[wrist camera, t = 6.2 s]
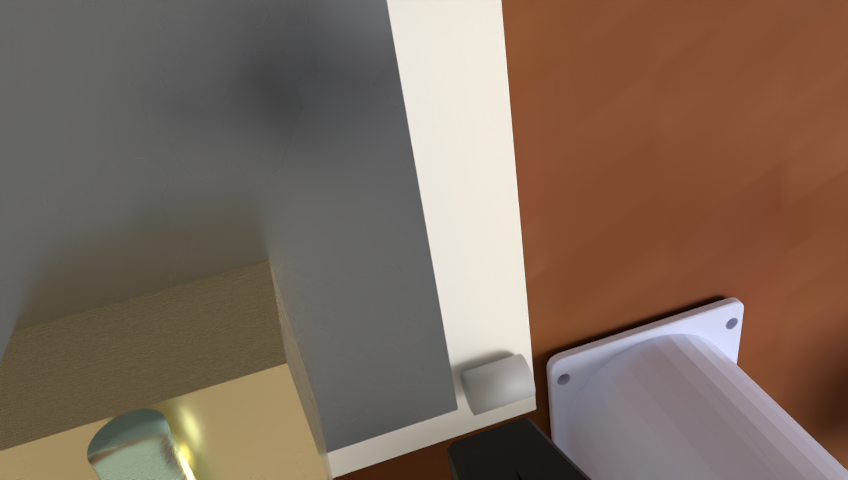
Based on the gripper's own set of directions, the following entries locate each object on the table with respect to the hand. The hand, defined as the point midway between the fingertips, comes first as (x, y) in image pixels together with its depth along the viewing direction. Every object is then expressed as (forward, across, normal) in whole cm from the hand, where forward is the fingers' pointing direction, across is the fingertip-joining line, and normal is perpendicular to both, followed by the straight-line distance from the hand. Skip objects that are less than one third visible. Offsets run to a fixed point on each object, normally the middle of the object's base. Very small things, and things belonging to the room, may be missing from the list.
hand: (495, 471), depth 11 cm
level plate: (+9, +6, -1) cm, 11 cm away
